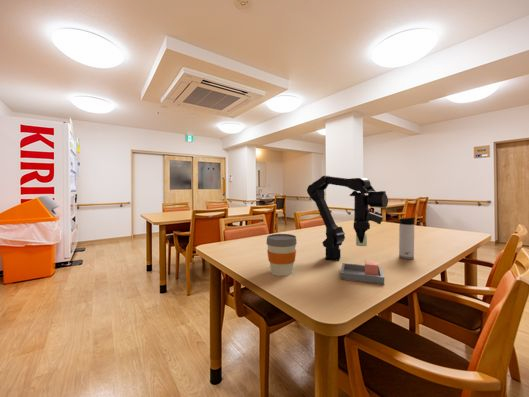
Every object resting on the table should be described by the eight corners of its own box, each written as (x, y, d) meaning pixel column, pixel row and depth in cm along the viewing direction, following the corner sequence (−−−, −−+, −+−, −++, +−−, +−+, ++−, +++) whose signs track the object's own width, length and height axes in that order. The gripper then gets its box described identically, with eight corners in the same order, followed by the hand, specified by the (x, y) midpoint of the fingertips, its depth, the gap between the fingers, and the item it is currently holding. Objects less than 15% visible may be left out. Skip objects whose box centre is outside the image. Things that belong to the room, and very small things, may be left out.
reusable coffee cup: (262, 269, 102) (261, 235, 102) (287, 265, 107) (287, 232, 107) (274, 279, 91) (274, 241, 90) (302, 274, 96) (302, 238, 95)
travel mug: (409, 260, 112) (410, 218, 111) (396, 256, 118) (396, 216, 117) (417, 258, 115) (418, 217, 114) (404, 254, 121) (404, 215, 120)
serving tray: (340, 279, 91) (340, 272, 90) (342, 268, 102) (342, 263, 102) (384, 284, 85) (384, 277, 85) (381, 273, 96) (381, 266, 96)
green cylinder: (356, 245, 104) (356, 234, 103) (356, 243, 108) (356, 232, 107) (366, 246, 102) (366, 235, 102) (366, 244, 106) (366, 233, 106)
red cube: (365, 277, 91) (365, 264, 91) (364, 273, 95) (365, 260, 95) (378, 278, 89) (378, 265, 89) (377, 274, 93) (377, 261, 93)
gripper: (383, 208, 92) (383, 248, 93) (379, 205, 110) (379, 238, 110) (353, 208, 97) (353, 246, 97) (354, 204, 114) (354, 237, 115)
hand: (361, 241), depth 105 cm, fingers closed on green cylinder, 4 cm apart
